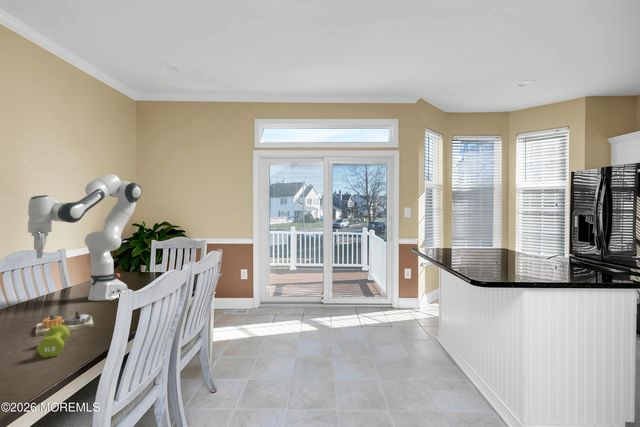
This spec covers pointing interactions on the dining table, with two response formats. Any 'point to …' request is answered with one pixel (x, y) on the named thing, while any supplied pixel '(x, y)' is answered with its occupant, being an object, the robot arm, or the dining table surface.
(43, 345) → the dumbbell
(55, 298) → the dining table surface
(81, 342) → the dining table surface
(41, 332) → the gear board
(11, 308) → the dining table surface
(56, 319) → the orange gear
